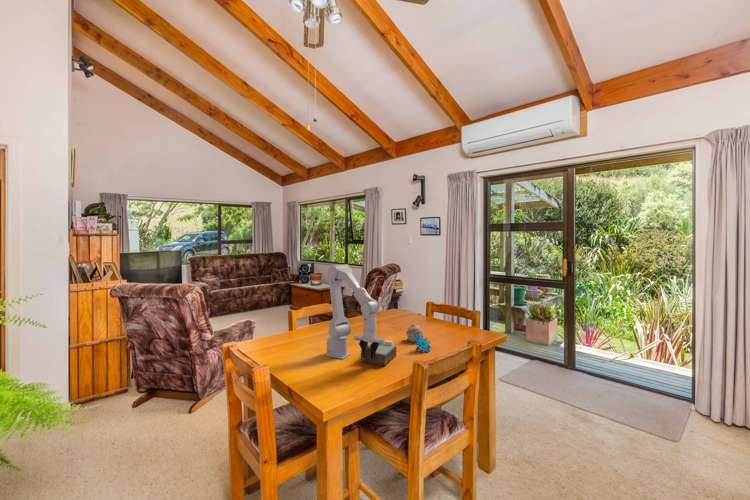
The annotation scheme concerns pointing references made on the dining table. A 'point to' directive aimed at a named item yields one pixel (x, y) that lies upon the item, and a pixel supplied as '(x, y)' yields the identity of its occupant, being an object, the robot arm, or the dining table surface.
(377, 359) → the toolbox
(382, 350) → the lid
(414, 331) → the cupcake
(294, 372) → the dining table surface
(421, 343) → the gear
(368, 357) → the block
